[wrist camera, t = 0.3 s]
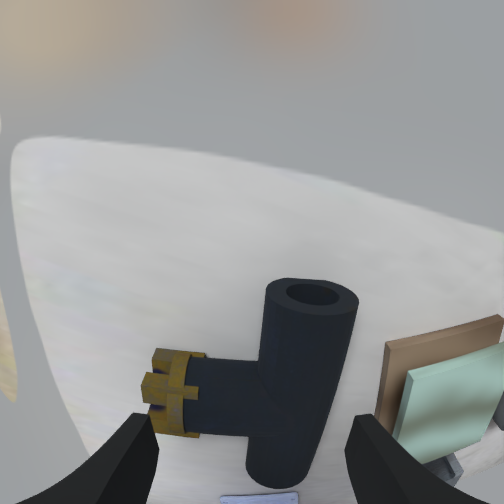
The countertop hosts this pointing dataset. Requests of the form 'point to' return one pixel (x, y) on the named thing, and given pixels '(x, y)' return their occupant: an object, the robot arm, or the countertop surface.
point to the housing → (446, 468)
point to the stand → (442, 387)
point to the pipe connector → (263, 382)
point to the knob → (499, 413)
